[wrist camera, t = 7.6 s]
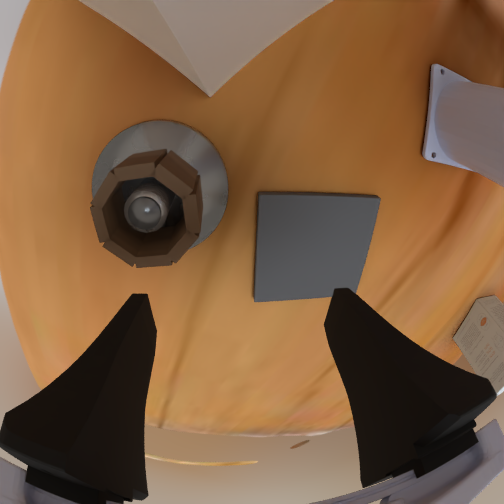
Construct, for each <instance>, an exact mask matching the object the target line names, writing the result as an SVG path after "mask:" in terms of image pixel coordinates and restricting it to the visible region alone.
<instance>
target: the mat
mask: <svg viewBox="0 0 504 504" xmlns="http://www.w3.org/2000/svg"><path fill="white" fill-rule="evenodd" d="M380 200H381V198H379V197H378V196H376V195H359V194H339V193H310V192H258V210H257V233H256V255H255V277H254V302H267V301H283V300H297V299H311V298H323V297H332V295H333V292H334V288H349V289H351V290H352V291H353V292H354V293H355V294H356V291H357V288H358V285H359V281H360V278H361V275H362V271H363V268H364V264H365V261H366V257H367V254H368V250H369V246H370V242H371V238H372V234H373V230H374V226H375V222H376V218H377V213H378V209H379V204H380Z"/></svg>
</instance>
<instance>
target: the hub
mask: <svg viewBox="0 0 504 504" xmlns="http://www.w3.org/2000/svg"><path fill="white" fill-rule="evenodd" d="M161 149H167V154H168V153H169V151H170V150H172V151H173V152H174V153H176V154H177V155H178V156H180V157H181V158H182V159H183V160H185V161H186V162H187V163H189V164H190V165H191V166H192V167H194V168H195V169H196V170H197V171H198V174H197V175H200V178H201V188H202V198H203V215H202V223H201V232H200V233H199V238H198V239H197V240H196V241H195V242H194V243H193V245H192V246H191V247H190V248H192V247H195V246H196V245H198V244H199V243H201V242H202V241H204V240H205V239H206V238H207V237H208V236H209V235H210V234H211V233H212V232H213V231H214V230H215V228H216V227H217V225H218V224H219V222H220V220H221V219H222V217H223V214H224V211H225V209H226V204H227V200H228V180H227V173H226V168H225V165H224V163H223V160H222V158H221V156H220V154H219V152H218V150H217V149H216V148H215V146H214V145H213V144H212V143H211V142H210V140H209V139H208V138H207V137H205V136H204V135H203V134H202V133H200V132H199V131H198V130H196V129H194V128H192V127H191V126H188V125H186V124H183V123H180V122H176V121H170V120H152V121H147V122H143V123H140V124H137V125H134V126H132V127H130V128H128V129H126V130H124V131H122V132H121V133H120V134H118V135H117V136H115V137H114V138H113V139H112V140H111V141H110V142H109V143H108V144H107V146H106V147H105V148H104V149H103V151H102V153H101V154H100V156H99V158H98V160H97V163H96V165H95V169H94V172H93V178H92V195H93V198H94V196H95V195H96V193H97V191H98V189H99V188H100V186H101V184H102V183H103V181H104V179H105V178H106V176H107V175H108V173H109V171H111V170H112V169H113V168H114V167H116V166H117V165H118V164H120V163H121V162H122V161H124V160H125V159H126V158H128V157H129V156H131V155H132V154H134V153H140V152H147V151H154V150H161ZM122 192H123V197H124V202H125V206H124V215H125V218H126V220H127V222H128V223H129V224H130V226H131V227H133V228H134V229H136V230H138V231H140V232H145V233H149V232H154V231H156V230H158V229H159V228H161V227H170V226H176V224H177V223H178V222H179V221H180V220H181V218H182V217H183V216H184V209H183V202H182V198H181V197H179V196H178V195H177V194H175V193H174V192H173V191H171V190H170V189H169V188H167V187H166V186H165V185H163V184H162V183H161V182H159V181H158V180H157V179H155V178H154V177H146V178H139V179H132V180H126V181H125V182H124V184H123V185H122ZM190 248H189V249H190Z"/></svg>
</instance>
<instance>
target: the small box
mask: <svg viewBox="0 0 504 504" xmlns="http://www.w3.org/2000/svg"><path fill="white" fill-rule="evenodd" d="M453 339H454V341H455V342H456V344H457V345H458V347H459V348H460V350H461V351H462V353H463V354H464V356H465V357H466V359H467V360H468V362H469V363H470V365H471V366H472V368H473V370H474V371H475V373H476V374H477V375H479V376H482V377H484V378H487V379H489V381H490V382H491V384H492V386H493V388H494V390H495V392H496V393H497V395H499V394H500V393H502V392H503V391H504V305H503V303H502V302H501V301H500V300H499V299H498V298H497V297H496V296H495V295H493V296H488V297H483V298H479V299H476V301H475V303H474V305H473V306H472V308H471V310H470V312H469V313H468V315H467V317H466V318H465V320H464V321H463V323H462V325H461V326H460V328H459V329H458V331H457V332H456V334H455V335H454V337H453Z"/></svg>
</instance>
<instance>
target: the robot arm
mask: <svg viewBox="0 0 504 504" xmlns="http://www.w3.org/2000/svg"><path fill="white" fill-rule="evenodd" d="M441 71H442V74H441ZM432 153H433V156H432ZM422 155H423V157H424V158H425V159H427V160H430V161H434V162H439V163H443V164H447V165H452V166H456V167H460V168H463V169H467V170H471V171H474V172H477V173H479V174H481V175H483V176H485V177H487V178H488V179H490V180H492V181H494V182H496V183H497V184H499V185H501V186H502V187H504V88H500V87H495V86H490V85H485V84H479V83H473V82H471V81H469V80H468V79H466V78H464V77H462V76H460V75H459V74H457V73H455V72H453V71H451V70H449V69H447V68H445V67H443V66H441V65H439V64H433V65H432V66H431V82H430V96H429V107H428V117H427V125H426V132H425V139H424V146H423V152H422ZM324 327H325V332H326V336H327V340H328V344H329V347H330V350H331V352H332V355H333V358H334V360H335V363H336V365H337V368H338V371H339V373H340V376H341V378H342V381H343V384H344V386H345V389H346V392H347V395H348V398H349V402H350V406H351V411H352V415H353V420H354V425H355V430H356V436H357V443H358V450H359V460H360V475H361V476H360V478H361V483H362V487H363V488H365V487H368V486H371V485H373V484H377V483H379V482H382V481H385V480H387V479H390V478H392V477H393V478H392V479H390V480H387V481H385V482H382V483H379V484H377V485H374V486H371V487H368V488H366V489H362V490H359V491H356V492H353V493H350V494H346V495H343V496H339V497H335V498H332V499H328V500H323V501H319V502H315V503H310V504H368V503H371V502H374V501H377V500H379V499H382V498H383V499H382V500H381V502H380V504H469V503H470V502H471V501H473V499H474V498H476V496H477V495H479V494H480V493H481V492H482V490H484V489H485V488H486V487H487V485H489V484H490V483H491V481H492V480H493V479H495V478H496V477H497V476H498V475H499V474H500V472H502V471H503V470H504V435H503V433H502V431H501V429H500V427H499V424H498V422H497V420H496V419H494V420H492V421H491V422H489V423H488V424H487V425H486V426H484V427H483V428H481V429H480V430H478V431H477V432H476V433H475V432H474V430H473V428H474V427H476V422H475V420H474V419H475V418H476V417H477V416H478V415H479V414H480V413H482V412H483V411H484V410H485V409H486V408H487V407H488V406H489V405H490V404H491V403H492V402H493V401H494V400H495V399H496V397H497V393H496V392H495V390H494V388H493V386H492V384H491V382H490V381H489V379H487V378H484V377H482V376H479V375H476V374H472V373H470V372H467V371H465V370H463V369H460V368H458V367H455V366H454V365H452V364H450V363H448V362H446V361H444V360H442V359H440V358H438V357H437V356H435V355H433V354H431V353H430V352H428V351H427V350H425V349H423V348H422V347H420V346H419V345H417V344H416V343H415V342H413V341H412V340H410V339H409V338H407V337H406V336H405V335H404V334H402V333H401V332H400V331H398V330H397V329H396V328H395V327H393V326H392V325H391V324H390V323H389V322H387V321H386V320H385V319H384V318H383V317H382V316H380V315H379V314H378V313H377V312H376V311H375V310H373V309H372V308H371V307H370V306H369V305H368V304H367V303H366V302H364V301H363V300H362V299H361V298H360V297H359V296H358V295H357V294H355V293H354V292H353V291H352V290H351V289H349V288H334V292H333V295H332V299H331V302H330V306H329V309H328V313H327V316H326V319H325V322H324ZM156 336H157V329H156V326H155V322H154V318H153V314H152V310H151V306H150V302H149V298H148V294H132V295H131V296H130V297H129V298H128V300H127V301H126V302H125V303H124V305H123V306H122V307H121V309H120V310H119V311H118V312H117V314H116V315H115V316H114V318H113V319H112V320H111V321H110V322H109V324H108V325H107V326H106V327H105V329H104V330H103V331H102V332H101V334H100V335H99V336H98V337H97V338H96V339H95V341H94V342H93V343H92V344H91V345H90V346H89V347H88V349H87V350H86V351H85V352H84V353H83V354H82V355H81V356H80V357H79V358H78V359H77V360H76V361H75V362H74V363H73V364H72V365H71V366H70V367H69V368H68V369H67V370H66V371H65V372H63V373H62V374H61V375H60V376H59V377H58V378H56V379H55V380H54V381H53V382H52V383H51V384H49V385H48V386H47V387H45V388H44V389H43V390H41V391H40V392H39V393H37V394H36V395H34V396H33V397H32V398H30V399H29V400H27V401H25V402H24V403H22V404H21V405H19V406H17V407H15V408H14V409H12V410H10V411H9V412H6V413H5V417H4V420H3V423H2V427H1V430H0V447H1V448H2V449H3V450H5V451H6V452H8V453H9V454H11V455H12V456H14V457H15V458H17V459H18V460H20V461H22V462H23V463H25V464H27V465H28V468H27V471H26V470H24V469H22V468H20V467H18V466H16V465H14V464H12V463H10V462H8V461H7V460H5V459H3V458H1V457H0V504H123V502H124V501H129V502H132V501H133V499H135V500H144V499H145V498H146V497H147V496H148V490H147V480H146V470H145V452H144V423H145V406H146V399H147V393H148V388H149V382H150V377H151V372H152V367H153V362H154V356H155V348H156Z"/></svg>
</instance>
